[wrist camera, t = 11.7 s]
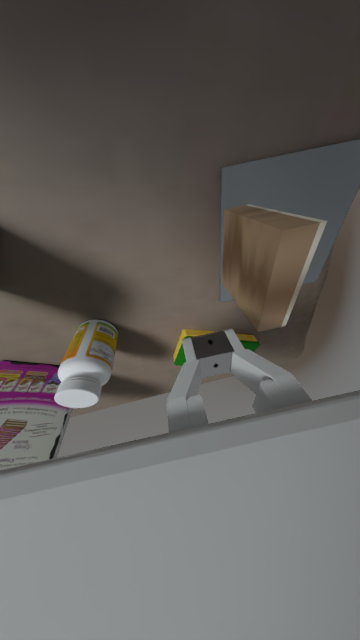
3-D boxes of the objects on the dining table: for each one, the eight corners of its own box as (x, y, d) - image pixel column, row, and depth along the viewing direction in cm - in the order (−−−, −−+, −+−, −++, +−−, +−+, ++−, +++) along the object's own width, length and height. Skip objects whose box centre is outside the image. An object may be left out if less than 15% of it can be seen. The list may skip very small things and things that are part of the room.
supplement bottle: (83, 345, 25) (56, 414, 17) (73, 318, 21) (33, 389, 14) (120, 344, 26) (109, 408, 18) (116, 317, 22) (100, 384, 15)
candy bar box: (6, 377, 27) (-115, 544, 14) (-1, 358, 24) (-159, 547, 12) (82, 382, 31) (39, 516, 18) (84, 366, 28) (34, 512, 16)
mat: (221, 167, 14) (222, 167, 14) (378, 135, 14) (382, 134, 14) (219, 300, 23) (220, 302, 23) (314, 280, 23) (316, 281, 23)
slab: (223, 209, 16) (282, 230, 9) (249, 204, 16) (327, 221, 9) (222, 283, 21) (257, 331, 14) (240, 279, 21) (285, 325, 14)
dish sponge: (182, 327, 26) (185, 338, 24) (254, 333, 30) (261, 343, 28) (172, 354, 30) (174, 365, 28) (236, 357, 34) (241, 367, 32)
